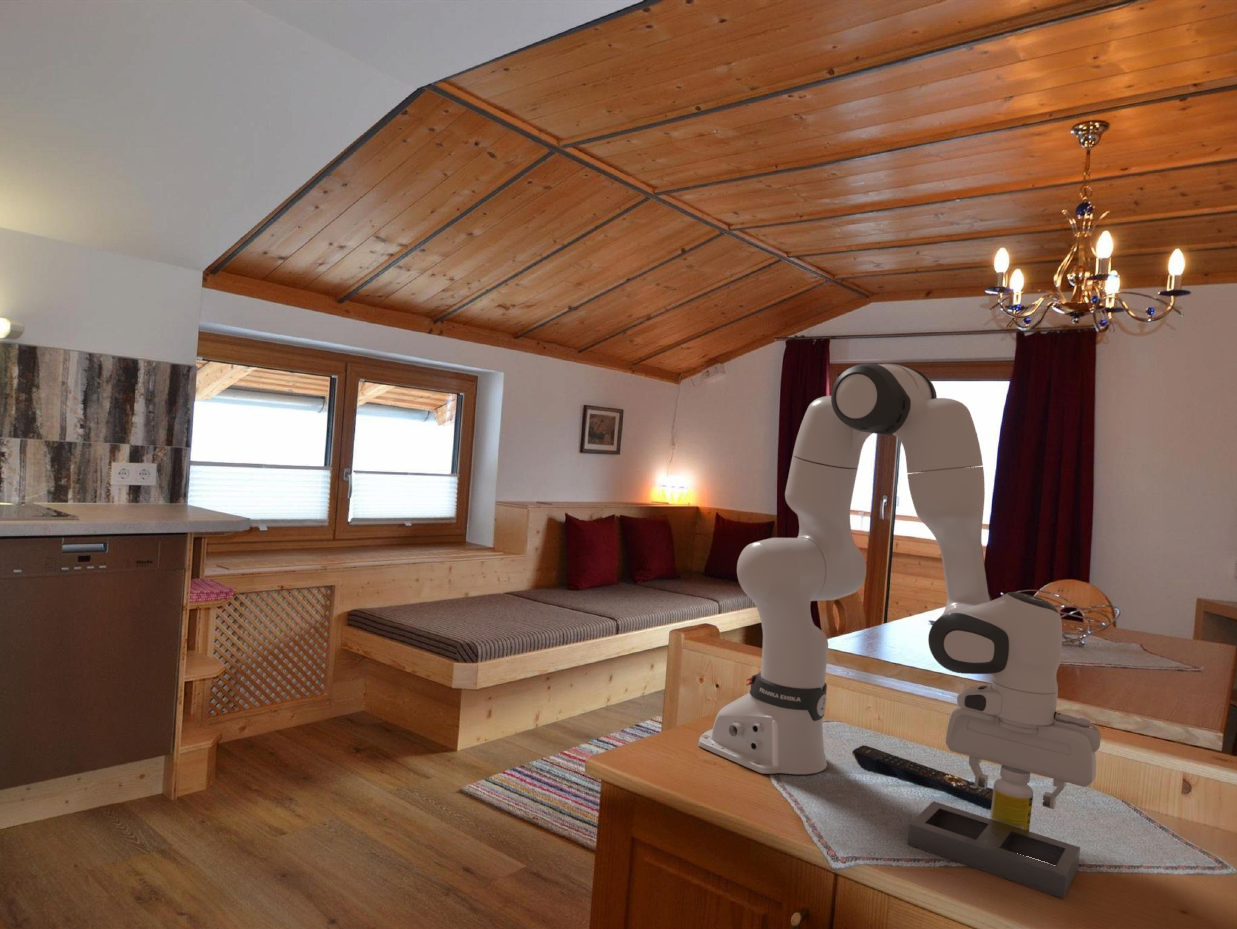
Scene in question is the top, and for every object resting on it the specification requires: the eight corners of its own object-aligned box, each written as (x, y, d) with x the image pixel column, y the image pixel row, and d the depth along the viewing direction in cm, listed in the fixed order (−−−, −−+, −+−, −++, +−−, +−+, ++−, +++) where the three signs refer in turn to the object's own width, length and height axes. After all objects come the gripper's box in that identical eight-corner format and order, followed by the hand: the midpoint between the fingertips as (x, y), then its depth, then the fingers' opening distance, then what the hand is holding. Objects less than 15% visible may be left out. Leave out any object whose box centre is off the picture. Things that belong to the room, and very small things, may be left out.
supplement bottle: (1032, 845, 127) (1039, 778, 127) (993, 838, 128) (999, 772, 128) (1023, 829, 132) (1030, 765, 132) (985, 822, 133) (991, 759, 133)
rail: (907, 844, 124) (909, 823, 124) (931, 820, 133) (933, 801, 132) (1063, 899, 112) (1065, 876, 112) (1078, 868, 121) (1080, 847, 121)
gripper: (1105, 718, 125) (1096, 812, 126) (958, 685, 138) (951, 771, 138) (1098, 727, 120) (1089, 826, 121) (946, 692, 133) (938, 782, 133)
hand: (1014, 796), depth 130 cm, fingers open, 8 cm apart
